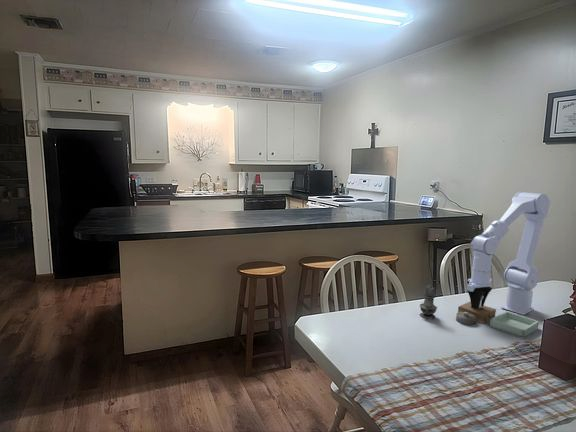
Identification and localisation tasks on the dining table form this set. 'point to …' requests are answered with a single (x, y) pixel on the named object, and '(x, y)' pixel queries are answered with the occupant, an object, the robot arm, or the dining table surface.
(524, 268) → the robot arm
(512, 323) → the tray
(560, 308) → the dining table surface
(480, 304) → the lock pin
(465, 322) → the block
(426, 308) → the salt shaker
